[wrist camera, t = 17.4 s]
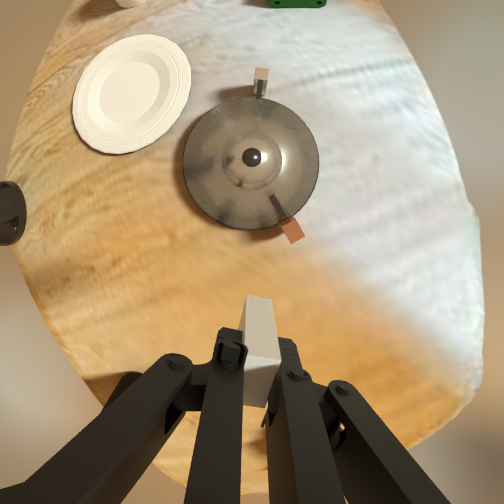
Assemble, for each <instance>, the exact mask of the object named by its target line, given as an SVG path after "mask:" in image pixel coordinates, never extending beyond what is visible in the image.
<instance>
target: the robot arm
mask: <svg viewBox="0 0 504 504" xmlns="http://www.w3.org/2000/svg"><path fill="white" fill-rule="evenodd" d="M26 215H27V214H26V203H25V199H24V196H23V193H22V191H21V189H20V188H19V186H18V185H17V184H15V183H14V182H12V181H2V182H0V246H8V245H11V244H14V243H16V242H17V241H18V240H19V239H20V238H21V236H22V234H23V232H24V229H25V225H26ZM267 400H268V408H267V411H266V414H265V416H264V419H263V421H262V424H261V427H264V424H265V423H266V442H267V462H268V482H269V502H270V504H346V502H345V499H344V496H345V498H346V500H347V501H348V503H349V504H451V503H450V502H449V501H448V500H447V498H446V497H445V496H444V495H443V494H442V492H441V491H440V490H439V489H438V488H437V487H436V485H435V484H434V483H433V482H432V480H431V479H430V478H429V477H428V476H427V474H426V473H425V472H424V471H423V470H422V468H421V467H420V466H419V465H418V464H417V462H416V461H415V460H414V459H413V458H412V456H411V455H410V454H409V453H408V451H407V450H406V449H405V448H404V447H403V445H402V444H401V443H400V442H399V440H398V439H397V438H396V437H395V436H394V434H393V433H392V432H391V431H390V429H389V428H388V427H387V426H386V425H385V423H384V422H383V421H382V420H381V419H380V417H379V416H378V415H377V414H376V412H375V411H374V410H373V409H372V408H371V406H370V405H369V404H368V403H367V401H366V400H365V399H364V398H363V397H362V395H361V394H360V393H359V392H358V390H357V389H356V388H355V387H354V386H353V385H352V384H350V383H348V382H346V381H342V380H334V381H331V382H330V383H329V385H328V387H326V386H323V385H320V384H317V383H314V382H312V379H311V376H310V374H309V373H308V372H307V371H305V370H304V369H302V365H301V362H300V358H299V354H298V352H297V347H296V344H295V343H294V342H293V341H292V340H291V339H286V338H281V337H277V331H276V325H275V319H274V313H273V307H272V302H271V299H267V298H262V297H257V296H252V295H246V299H245V303H244V307H243V311H242V316H241V320H240V324H239V328H238V330H235V329H230V328H225V327H223V328H221V329H220V330H219V331H218V334H217V339H216V343H215V347H214V352H213V357H212V360H211V361H210V362H208V363H206V364H201V365H193V364H192V361H191V360H190V359H189V358H187V357H186V356H184V355H181V354H176V353H170V354H165V355H163V356H162V357H160V358H159V359H158V360H157V361H156V362H155V363H154V364H153V365H152V366H151V367H150V368H149V369H148V370H147V371H145V372H144V373H143V374H142V375H141V376H140V377H139V378H138V379H137V380H136V381H135V382H134V383H133V384H132V385H130V386H129V387H128V388H127V389H126V390H125V391H124V392H123V393H122V394H121V395H120V396H119V397H118V398H116V399H115V400H114V401H113V402H112V403H111V404H110V405H109V406H108V407H107V408H106V409H105V410H103V411H102V412H101V413H100V414H99V415H98V416H97V417H96V418H95V419H94V420H93V421H92V422H90V423H89V424H88V425H87V426H86V427H85V428H84V429H83V430H82V431H81V432H79V433H78V434H77V435H76V436H75V437H74V438H73V439H72V440H71V441H70V442H68V443H67V444H66V445H65V446H64V447H63V448H62V449H61V450H60V451H58V452H57V453H56V454H55V455H54V456H53V457H52V458H51V459H50V460H48V461H47V462H46V463H45V464H44V465H43V466H42V467H41V468H39V469H38V470H37V471H36V472H35V473H34V474H33V475H32V476H30V477H29V478H28V479H27V480H26V481H25V482H23V483H20V484H16V485H14V486H10V487H7V488H3V489H0V504H121V502H122V501H123V499H124V498H125V497H126V496H127V494H128V493H129V492H130V490H131V489H132V488H133V486H134V485H135V484H136V482H137V481H138V480H139V478H140V477H141V476H142V474H143V473H144V472H145V470H146V469H147V467H148V466H149V465H150V463H151V462H152V461H153V459H154V458H155V456H156V455H157V454H158V452H159V451H160V450H161V448H162V447H163V445H164V444H165V443H166V441H167V440H168V438H169V437H170V436H171V434H172V433H173V431H174V430H175V428H176V427H177V426H178V424H179V423H180V421H181V420H182V418H183V417H184V416H185V413H186V411H201V415H200V420H199V425H198V430H197V436H196V441H195V446H194V451H193V456H192V461H191V467H190V472H189V477H188V483H187V488H186V494H185V499H184V504H240V484H241V448H242V415H243V405H247V406H253V407H260V408H265V406H266V403H267ZM341 423H342V424H343V426H344V427H345V429H344V430H342V429H341V427H340V425H341Z"/></svg>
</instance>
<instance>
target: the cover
mask: <svg viewBox="0 0 504 504" xmlns="http://www.w3.org/2000/svg"><path fill="white" fill-rule="evenodd" d="M221 163H222V168H223V171H224V174H225V175H226V177H227V178H228V180H229V181H230V182H231V183H232V184H234V185H235V186H237V187H239V188H241V189H245V190H259V189H262V188H265V187H267V186H269V185H270V184H271V183H273V182H274V181H275V179H276V178H277V177H278V175H279V173H280V171H281V168H282V154H281V150H280V148H279V146H278V145H277V143H276V142H275V141H274V140H273V139H272V138H271V137H270V136H268V135H266V134H264V133H261V132H257V131H246V132H242V133H240V134H238V135H236V136H234V137H233V138H232V139H231V140H230V141H229V142H228V143H227V144H226V146H225V148H224V150H223V153H222V158H221Z"/></svg>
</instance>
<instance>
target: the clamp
mask: <svg viewBox="0 0 504 504" xmlns="http://www.w3.org/2000/svg"><path fill="white" fill-rule="evenodd" d="M269 2H270V5H271V6H272V7H276V8H277V7H323V6H325V5H326V2H327V0H269Z"/></svg>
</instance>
